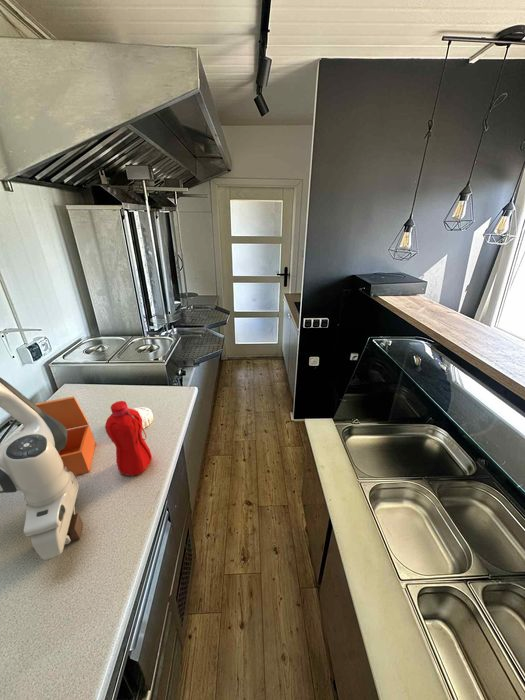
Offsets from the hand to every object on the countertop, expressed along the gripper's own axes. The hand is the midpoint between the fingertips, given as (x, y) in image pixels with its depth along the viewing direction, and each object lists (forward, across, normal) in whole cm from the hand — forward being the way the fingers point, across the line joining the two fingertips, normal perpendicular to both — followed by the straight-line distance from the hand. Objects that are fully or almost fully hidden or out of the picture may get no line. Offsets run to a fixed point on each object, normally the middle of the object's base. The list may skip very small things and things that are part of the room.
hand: (69, 530), depth 74 cm
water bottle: (+2, -18, +16) cm, 24 cm away
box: (+2, -28, -5) cm, 28 cm away
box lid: (-14, -33, -5) cm, 36 cm away
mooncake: (+2, -42, +15) cm, 45 cm away
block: (+2, 0, 0) cm, 2 cm away
